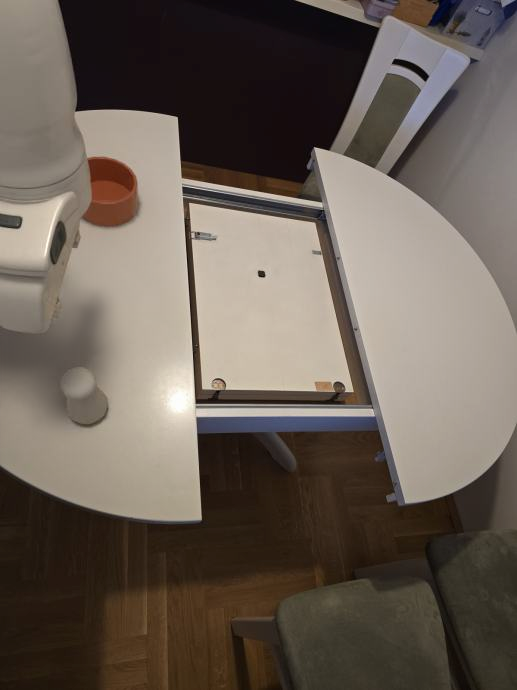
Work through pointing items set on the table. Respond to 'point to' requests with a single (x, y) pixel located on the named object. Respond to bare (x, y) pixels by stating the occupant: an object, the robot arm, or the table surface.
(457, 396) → the table surface
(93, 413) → the grey rounded piece
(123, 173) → the pot
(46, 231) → the robot arm
